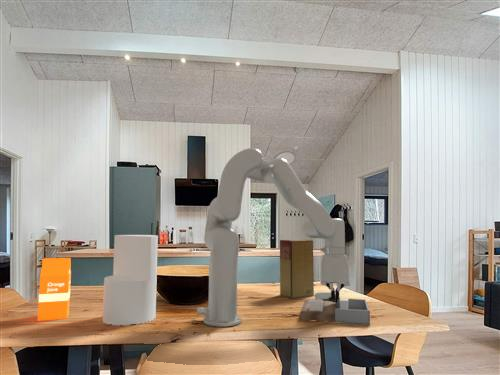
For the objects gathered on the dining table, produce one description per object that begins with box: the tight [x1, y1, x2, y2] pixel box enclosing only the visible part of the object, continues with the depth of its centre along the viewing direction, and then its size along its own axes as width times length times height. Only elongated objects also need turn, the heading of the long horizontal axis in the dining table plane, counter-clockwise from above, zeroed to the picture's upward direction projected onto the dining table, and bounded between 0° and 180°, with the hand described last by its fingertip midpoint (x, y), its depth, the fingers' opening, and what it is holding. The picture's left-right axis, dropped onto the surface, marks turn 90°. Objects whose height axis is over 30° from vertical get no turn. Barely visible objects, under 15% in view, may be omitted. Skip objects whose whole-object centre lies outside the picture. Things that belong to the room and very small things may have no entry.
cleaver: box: [314, 292, 336, 302], centre depth 159 cm, size 29×10×2 cm, turn 177°
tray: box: [335, 297, 371, 326], centre depth 131 cm, size 11×18×4 cm, turn 167°
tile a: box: [339, 297, 349, 309], centre depth 137 cm, size 4×4×3 cm
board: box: [300, 299, 336, 323], centre depth 134 cm, size 12×18×3 cm, turn 167°
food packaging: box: [279, 239, 315, 299], centre depth 169 cm, size 13×9×25 cm
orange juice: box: [37, 257, 72, 322], centre depth 129 cm, size 8×9×20 cm
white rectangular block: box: [309, 298, 323, 311], centre depth 129 cm, size 4×4×3 cm
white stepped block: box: [102, 234, 159, 326], centre depth 128 cm, size 17×17×28 cm
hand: (335, 301), depth 138 cm, fingers closed
